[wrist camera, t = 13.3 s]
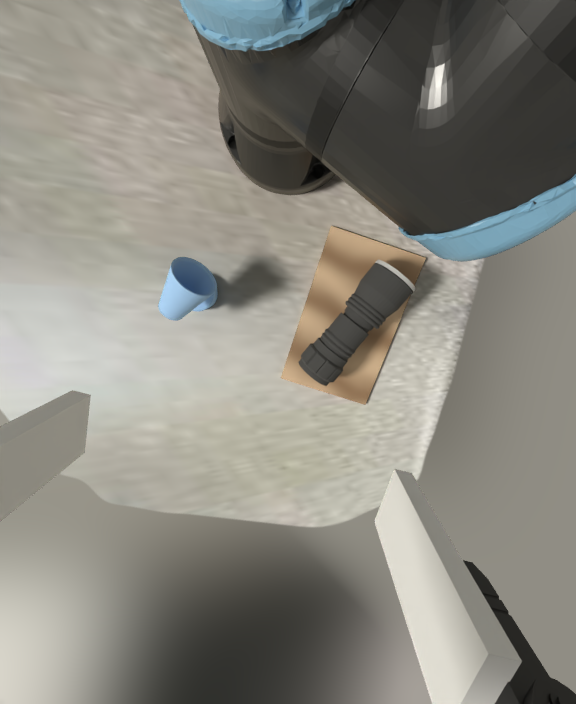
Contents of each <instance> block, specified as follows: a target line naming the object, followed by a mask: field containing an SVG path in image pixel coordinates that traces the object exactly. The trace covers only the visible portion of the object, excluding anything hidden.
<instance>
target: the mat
mask: <svg viewBox="0 0 576 704" xmlns="http://www.w3.org/2000/svg"><path fill="white" fill-rule="evenodd" d="M425 259H426V258H425V257H422V256H419V255H416V254H413V253H410V252H407V251H404V250H401V249H398V248H395V247H392V246H389V245H386V244H383V243H380V242H378V241H375V240H372V239H369V238H366V237H363V236H360V235H357V234H354V233H351V232H348V231H345V230H342V229H339V228H336V227H333V226H331V228H330V231H329V234H328V237H327V240H326V243H325V246H324V249H323V252H322V255H321V258H320V261H319V264H318V267H317V270H316V273H315V276H314V279H313V283H312V286H311V289H310V292H309V295H308V298H307V301H306V304H305V307H304V310H303V313H302V316H301V319H300V322H299V325H298V328H297V331H296V334H295V337H294V340H293V343H292V346H291V349H290V352H289V355H288V358H287V361H286V364H285V367H284V370H283V373H282V376H281V378H282V379H285V380H288V381H291V382H295V383H298V384H301V385H304V386H307V387H310V388H314V389H317V390H320V391H323V392H326V393H329V394H333V395H336V396H339V397H342V398H345V399H348V400H352V401H355V402H358V403H361V404H364V405H365V404H366V402H367V399H368V397H369V395H370V392H371V390H372V387H373V385H374V383H375V380H376V378H377V375H378V373H379V370H380V368H381V366H382V363H383V361H384V358H385V356H386V353H387V351H388V349H389V346H390V344H391V341H392V339H393V337H394V334H395V332H396V329H397V327H398V324H399V322H400V320H401V317H402V315H403V312H404V310H405V308H406V305H407V303H408V300H409V298H410V296H409V297H408V299H407V300H406V301H405V302H404V303H403V304H402V305H401V307H400V308H399V309H398V310H397V311H395V312H394V313H393V314H391V315H390V316H389V317H387V318H386V321H385V322H383V324H382V325H380V327H379V329H376V328H373V329H372V330H371V331H370V330H369V332H368V334H369V335H368V336H367V338H366V339H365V340H364V341H363V342H362V343H361V345H360V346H359V347H358V348H357V349H356V350H355V353H354V354H352V357H351V358H348V360H347V361H348V362H347V363H346V364H345V366H344V367H343V372H342V373H341V374H340V375H339V376H338V378H337V379H336V380H335V381H334V382H330V383H329V384H328V385H327V386H324V385H322V384H320V383H318V382H317V381H315V380H314V379H313V378H311V377H310V376H309V375H308V374H307V373H306V372H305V371H304V370H303V369H302V368H301V367H300V365H299V363H298V362H299V361H300V359H301V354H302V353H303V352H304V351H305V350H306V348H307V347H308V346H309V345H310V344H311V343H314V342H315V341H316V340H317V339H318V337H321V336H322V333H324V332H325V329H327V328H329V326H330V325H331V324H332V323H333V322H334V320H335V319H336V318H337V317H338V316H339V314H340V313H341V312H342V313H344V312H345V309H346V307H347V305H346V304H345V302H346V301H348V298H349V297H351V295H352V294H354V293H355V291H356V289H357V287H358V285H359V282H360V280H361V279H362V278H363V277H364V276H365V274H366V273H367V272H368V271H369V270H370V268H371V267H372V266H373V265H374V263H375V262H376V261H377V260H382V261H384V262H386V263H387V264H389V265H391V266H392V267H394V268H395V269H397V270H398V271H399V272H400V273H402V274H403V275H404V276H405V277H406V278H408V279H409V280H410V281H411V283H412V284H413V285H414V286H415V283H416V281H417V279H418V276H419V274H420V271H421V269H422V266H423V264H424V262H425Z"/></svg>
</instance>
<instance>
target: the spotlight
mask: <svg viewBox="0 0 576 704" xmlns="http://www.w3.org/2000/svg"><path fill="white" fill-rule="evenodd" d="M217 296H218V291H217V283H216V280H215V278H214V276H213V274H212V273H211V272H210V271H209V270H208V269H207V268H206V267H205V266H204V265H203V264H201V263H200V262H198V261H196V260H194V259H191V258H187V257H179V258H176V259H174V260H173V262H172V264H171V267H170V270H169V273H168V276H167V279H166V283H165V286H164V289H163V292H162V295H161V298H160V301H159V305H158V307H159V310H160V312H161V313H162V315H164V316H165V317H166V318H168V319H170V320H180V319H182V318H183V317H184V316H185V315H187V314H188V313H189V312H191V311H203V310H206V309H208V308H210V307H212V306H213V305H214V303H215V302H216V300H217Z"/></svg>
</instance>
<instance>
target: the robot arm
mask: <svg viewBox="0 0 576 704" xmlns="http://www.w3.org/2000/svg"><path fill="white" fill-rule="evenodd" d="M179 1H180V3H181V5H182V7H183V10H184V13H186V14H187V16H188V19H189V21H190V22H191V23H192V24H193V27H194V29H195V31H196V34H197V36H198V38H199V41H200V43H201V45H202V48H203V50H204V52H205V55H206V57H207V59H208V62H209V64H210V66H211V69H212V71H213V73H214V76H215V78H216V80H217V83H218V85H219V87H220V93H219V120H220V126H221V131H222V135H223V138H224V141H225V143H226V146H227V148H228V150H229V152H230V154H231V156H232V158H233V159H234V161H235V163H236V164H237V166H238V167H239V169H240V170H241V171H242V172H243V173H244V174H245V176H247V177H248V178H249V179H250V180H251V181H252V182H254V183H255V184H256V185H258V186H260V187H261V188H263V189H266V190H268V191H271V192H274V193H278V194H285V195H295V194H302V193H306V192H309V191H312V190H314V189H316V188H318V187H320V186H322V185H324V184H325V183H326V182H328V181H329V180H330V179H331V178H333V177H334V176H335V175H337V176H338V177H340V178H341V179H342V180H343V181H344V182H346V183H347V184H348V185H349V186H351V187H352V188H353V189H354V190H355V191H357V192H358V193H359V194H360V195H361V196H363V197H364V198H365V199H366V200H367V201H369V202H370V203H371V204H372V205H374V206H375V207H376V208H377V209H378V210H380V211H381V212H382V213H383V214H384V215H386V216H387V217H388V218H389V219H390V220H392V221H393V222H394V223H395V224H397V225H398V226H399V230H400V232H401V233H402V234H403V235H405V236H406V237H408V238H411V239H413V240H416V241H418V242H419V243H420V244H422V245H423V246H424V247H426V248H427V249H428V250H430V251H431V252H432V253H434V254H435V255H437V256H438V257H440V258H443V259H449V260H453V261H472V260H477V259H482V258H486V257H489V256H492V255H495V254H498V253H501V252H503V251H506V250H508V249H510V248H513V247H515V246H517V245H519V244H521V243H523V242H525V241H527V240H530V239H531V238H533V237H535V236H537V235H539V234H540V233H542V232H544V231H546V230H547V229H549V228H551V227H552V226H554V225H556V224H557V223H559V222H560V221H562V220H563V219H565V218H566V217H568V216H569V215H571V214H572V213H573V212H575V211H576V0H179ZM90 396H91V395H89V394H85V393H81V392H76V391H70V392H68V393H66V394H64V395H62V396H60V397H58V398H56V399H54V400H52V401H50V402H48V403H46V404H44V405H42V406H40V407H38V408H36V409H34V410H32V411H30V412H28V413H26V414H24V415H22V416H20V417H18V418H16V419H14V420H12V421H10V422H8V423H6V424H4V425H2V426H0V521H2V520H3V519H4V518H5V517H6V516H8V515H9V514H10V513H11V512H12V511H14V510H15V509H16V508H17V507H19V506H20V505H21V504H22V503H24V502H25V501H26V500H27V499H28V498H30V497H31V496H32V495H33V494H35V493H36V492H37V491H38V490H39V489H41V488H42V487H43V486H44V485H45V484H47V483H48V482H49V481H50V480H52V479H53V478H54V477H55V476H56V475H58V474H59V473H60V472H61V471H63V470H64V469H65V468H66V467H67V466H69V465H70V464H71V463H72V462H74V461H75V460H76V459H77V458H78V457H80V456H81V455H82V454H83V453H85V444H86V434H87V424H88V415H89V405H90ZM374 522H375V525H376V528H377V531H378V534H379V537H380V541H381V544H382V547H383V550H384V553H385V556H386V560H387V563H388V566H389V569H390V572H391V575H392V578H393V582H394V585H395V588H396V591H397V594H398V597H399V601H400V603H401V607H402V610H403V613H404V616H405V619H406V623H407V626H408V629H409V632H410V635H411V638H412V642H413V645H414V648H415V651H416V654H417V657H418V660H419V664H420V667H421V670H422V673H423V676H424V679H425V683H426V686H427V689H428V692H429V695H430V698H431V701H432V704H576V694H575V693H574V692H573V691H571V690H570V689H569V688H568V687H566V686H565V685H563V684H561V683H560V682H558V681H557V680H555V679H552V678H550V677H549V675H548V673H547V672H546V670H545V669H544V667H543V666H542V664H541V662H540V661H539V659H538V658H537V656H536V654H535V653H534V651H533V650H532V648H531V647H530V645H529V643H528V642H527V640H526V639H525V637H524V636H523V634H522V633H521V631H520V629H519V628H518V626H517V625H516V623H515V621H514V620H513V618H512V617H511V616H510V615H509V614H508V610H507V609H506V607H505V606H504V604H503V602H502V601H501V600H499V596H498V595H497V593H496V591H495V590H494V588H493V587H492V585H491V583H490V582H489V580H488V579H487V578H486V577H485V576H484V575H483V573H482V572H481V571H480V570H479V569H478V568H477V567H476V566H475V565H474V564H473V563H472V562H468V561H464V560H462V558H461V556H460V555H459V553H458V551H457V550H456V548H455V546H454V544H453V543H452V542H451V539H450V538H449V536H448V534H447V533H446V531H445V529H444V528H443V526H442V524H441V522H440V521H439V519H438V517H437V515H436V514H435V512H434V510H433V509H432V507H431V505H430V504H429V502H428V500H427V498H426V497H425V495H424V493H423V492H422V490H421V488H420V487H419V485H418V483H417V481H416V480H415V478H414V476H413V475H412V473H409V472H405V471H401V470H397V469H394V472H393V474H392V477H391V479H390V482H389V485H388V487H387V490H386V492H385V495H384V498H383V500H382V503H381V506H380V508H379V511H378V513H377V516H376V519H375V521H374Z"/></svg>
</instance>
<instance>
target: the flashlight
mask: <svg viewBox="0 0 576 704" xmlns="http://www.w3.org/2000/svg"><path fill="white" fill-rule="evenodd" d="M415 289H416V288H415V286H414V285H413V284H412V283H411V281H410V280H409V279H408V278H406V277H405V276H404V275H403V274H402V273H400V272H399V271H398V270H397V269H395V268H394V267H392V266H391V265H389V264H387V263H386V262H384V261H382V260H377V261H376V262H375V263H374V265H373V266H372V267H371V268H370V270H369V271H368V272H367V273H366V274H365V276H364V277H363V278H362V279H361V280H360V282H359V285H358V287H357V289H356V291H355V293H354V294H352V295H351V297H349V298H348V301H346V302H345V304H346V305H347V307H346V309H345V312H344V313H342V312H341V313H340V314H339V316H338V317H337V318H336V319H335V320H334V322H333V323H332V324H331V325H330V326H329V328H327V329H325V332H324V333H322V336H321V337H318V339H317V340H316V341H315V342H314V343H311V344H310V345H309V346H308V347H307V348H306V350H305V351H304V352H303V353H302V354H301V359H300V361H299V362H298V363H299V365H300V367H301V368H302V369H303V370H304V371H305V372H306V373H307V374H308V375H309V376H310V377H311V378H313V379H314V380H315V381H317V382H318V383H320V384H322V385H324V386H327V385H328V384H329V383H330V382H334V381H335V380H336V379H337V378H338V376H339V375H340V374H341V373H342V372H343V367H344V366H345V364H346V363H347V362H348V361H347V360H348V358H351V357H352V354H354V353H355V350H356V349H357V348H358V347H359V346H360V345H361V343H362V342H363V341H364V340H365V339H366V338H367V336H368V335H369V334H368V332H369V330H370V331H371V330H372V329H373V328H376V329H379V327H380V325H382V324H383V322H385V321H386V318H387V317H389V316H390V315H391V314H393V313H394V312H395V311H397V310H398V309H399V308H400V307H401V305H402V304H403V303H404V302H405V301H406V300H407V299H408V297H409V296H410V295H411V294H412V293H413V292H414V291H415Z"/></svg>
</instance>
